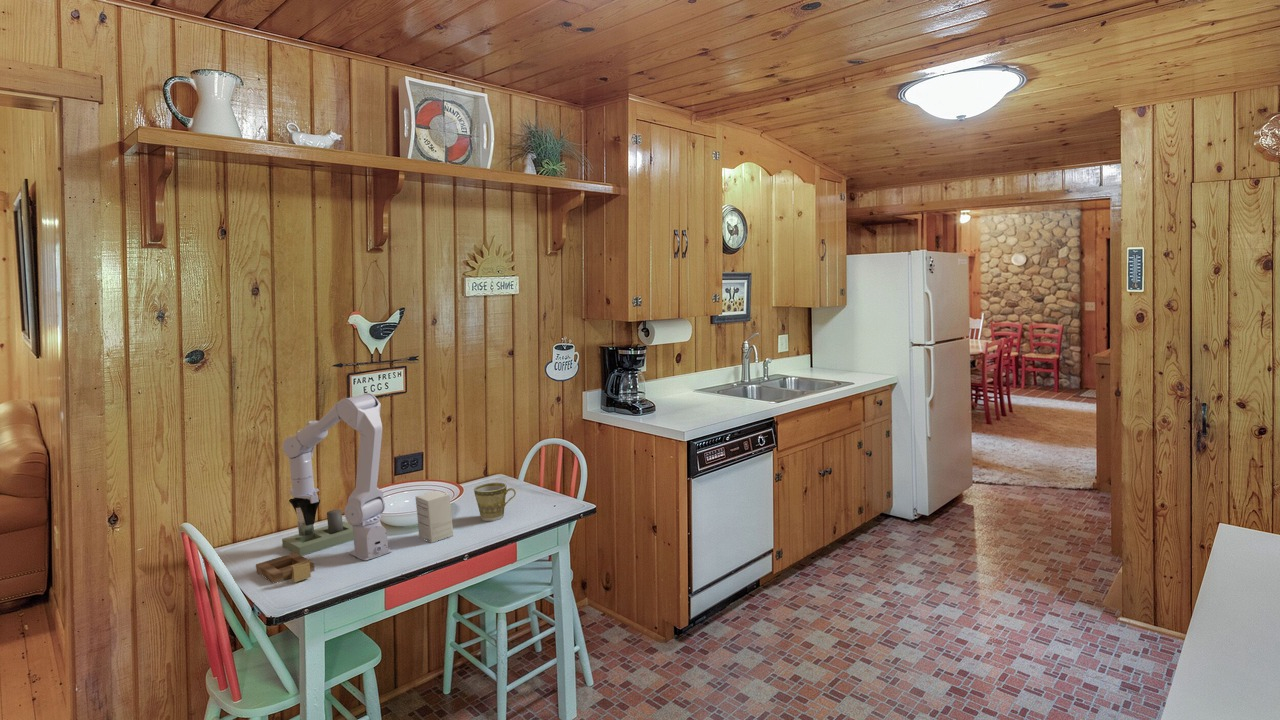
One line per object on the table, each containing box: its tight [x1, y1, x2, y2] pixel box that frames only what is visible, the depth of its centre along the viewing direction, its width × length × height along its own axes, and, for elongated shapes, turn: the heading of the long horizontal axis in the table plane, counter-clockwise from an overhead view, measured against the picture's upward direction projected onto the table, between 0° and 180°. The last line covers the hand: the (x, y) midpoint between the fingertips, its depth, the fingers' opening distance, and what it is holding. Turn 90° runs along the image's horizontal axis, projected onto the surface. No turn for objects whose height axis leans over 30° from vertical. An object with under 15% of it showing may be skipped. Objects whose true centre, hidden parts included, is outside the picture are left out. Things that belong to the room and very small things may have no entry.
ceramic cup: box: [473, 481, 517, 522], centre depth 220 cm, size 13×10×10 cm
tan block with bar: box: [291, 561, 312, 583], centre depth 180 cm, size 8×4×4 cm, turn 48°
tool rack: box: [281, 509, 354, 557], centre depth 206 cm, size 12×18×8 cm, turn 138°
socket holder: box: [255, 552, 315, 584], centre depth 185 cm, size 12×10×2 cm
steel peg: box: [295, 506, 315, 536], centre depth 202 cm, size 4×4×8 cm
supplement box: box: [415, 490, 454, 544], centre depth 205 cm, size 7×7×13 cm
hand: (306, 523), depth 202 cm, fingers closed on steel peg, 4 cm apart
